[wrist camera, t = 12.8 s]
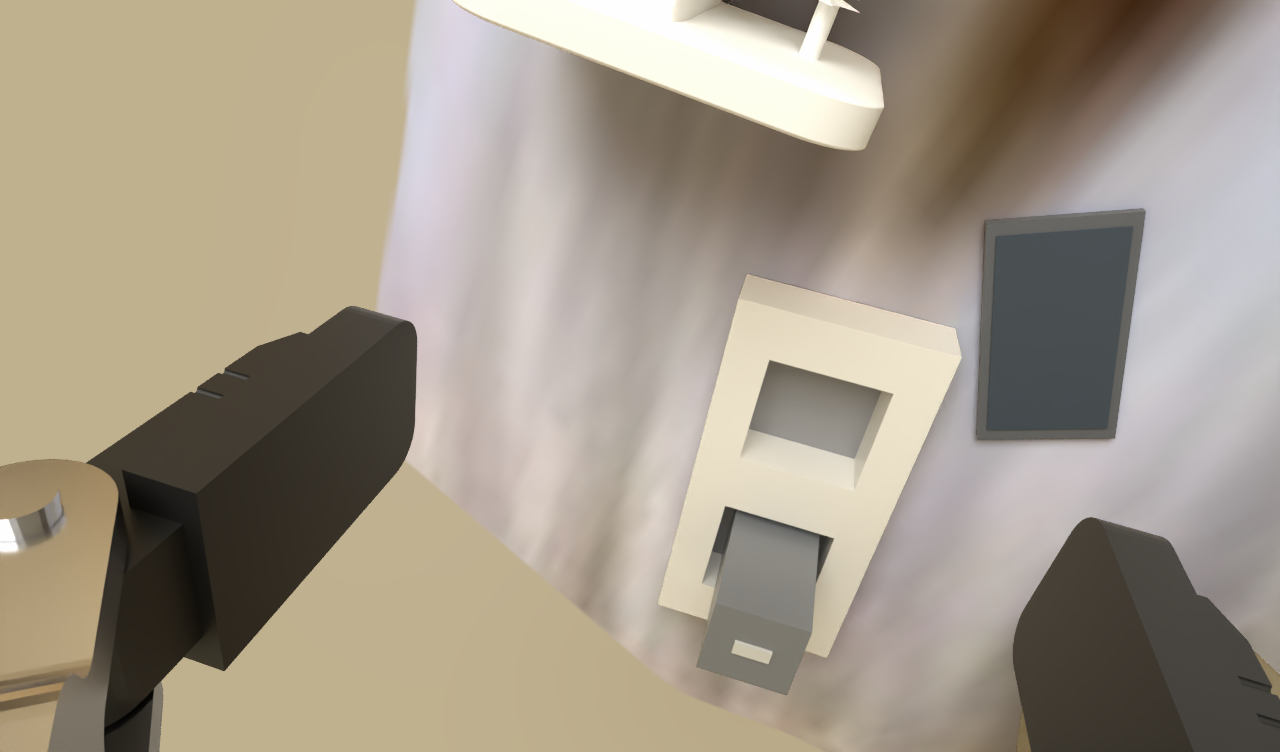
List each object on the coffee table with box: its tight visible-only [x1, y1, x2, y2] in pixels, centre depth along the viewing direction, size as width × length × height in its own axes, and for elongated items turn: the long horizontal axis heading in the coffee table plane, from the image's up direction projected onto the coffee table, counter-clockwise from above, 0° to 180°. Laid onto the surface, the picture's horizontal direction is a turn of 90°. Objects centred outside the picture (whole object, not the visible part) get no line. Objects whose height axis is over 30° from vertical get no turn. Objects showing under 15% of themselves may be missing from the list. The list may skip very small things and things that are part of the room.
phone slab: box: [976, 208, 1146, 440], centre depth 36 cm, size 6×11×1 cm, turn 10°
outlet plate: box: [658, 274, 962, 658], centre depth 41 cm, size 10×20×3 cm, turn 170°
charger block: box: [697, 509, 820, 695], centre depth 41 cm, size 4×4×9 cm
